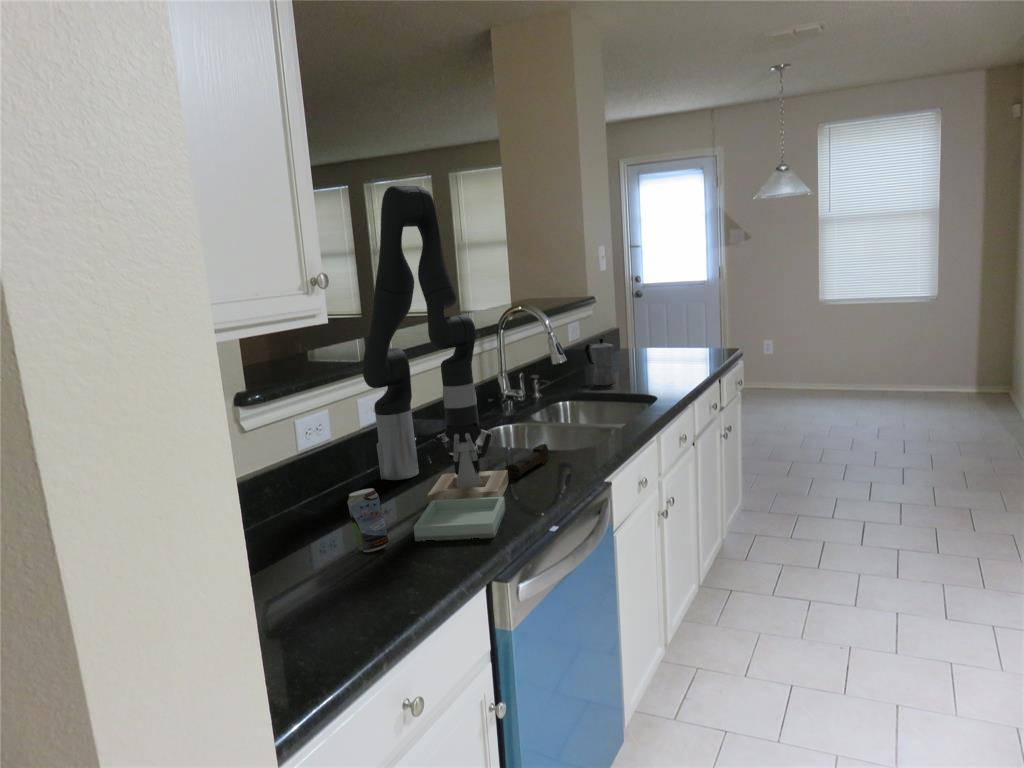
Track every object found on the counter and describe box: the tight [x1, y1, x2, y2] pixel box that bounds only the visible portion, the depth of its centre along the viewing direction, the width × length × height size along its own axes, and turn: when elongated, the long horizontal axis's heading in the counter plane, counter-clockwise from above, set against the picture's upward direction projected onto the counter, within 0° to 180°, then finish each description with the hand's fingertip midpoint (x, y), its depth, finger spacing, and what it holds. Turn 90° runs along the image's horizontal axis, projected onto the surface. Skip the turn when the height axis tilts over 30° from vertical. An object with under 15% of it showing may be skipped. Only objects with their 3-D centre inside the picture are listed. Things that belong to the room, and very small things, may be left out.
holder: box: [427, 469, 509, 505], centre depth 178 cm, size 16×16×3 cm
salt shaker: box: [457, 442, 482, 489], centre depth 177 cm, size 6×6×13 cm
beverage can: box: [347, 487, 389, 553], centre depth 149 cm, size 6×7×12 cm
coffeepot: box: [584, 337, 617, 386], centre depth 301 cm, size 15×9×18 cm, turn 44°
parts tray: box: [413, 496, 506, 542], centre depth 158 cm, size 16×16×3 cm
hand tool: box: [505, 443, 550, 480], centre depth 194 cm, size 19×4×5 cm, turn 147°
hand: (468, 475), depth 178 cm, fingers closed on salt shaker, 3 cm apart
